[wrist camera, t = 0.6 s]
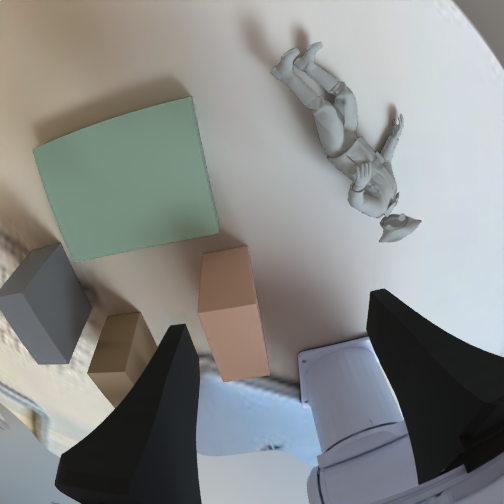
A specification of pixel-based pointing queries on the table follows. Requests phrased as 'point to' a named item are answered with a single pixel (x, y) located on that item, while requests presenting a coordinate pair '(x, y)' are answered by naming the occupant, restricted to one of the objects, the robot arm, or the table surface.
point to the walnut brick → (121, 355)
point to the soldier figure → (349, 143)
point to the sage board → (130, 182)
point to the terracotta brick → (232, 315)
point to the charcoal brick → (46, 305)
